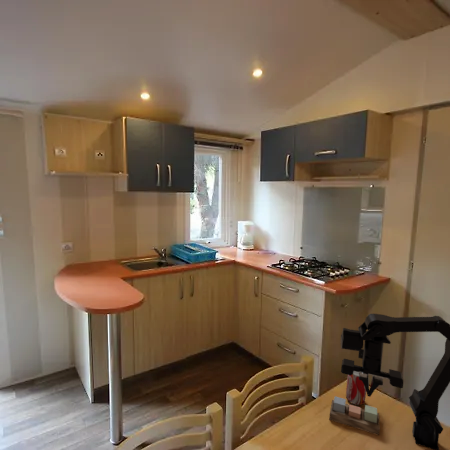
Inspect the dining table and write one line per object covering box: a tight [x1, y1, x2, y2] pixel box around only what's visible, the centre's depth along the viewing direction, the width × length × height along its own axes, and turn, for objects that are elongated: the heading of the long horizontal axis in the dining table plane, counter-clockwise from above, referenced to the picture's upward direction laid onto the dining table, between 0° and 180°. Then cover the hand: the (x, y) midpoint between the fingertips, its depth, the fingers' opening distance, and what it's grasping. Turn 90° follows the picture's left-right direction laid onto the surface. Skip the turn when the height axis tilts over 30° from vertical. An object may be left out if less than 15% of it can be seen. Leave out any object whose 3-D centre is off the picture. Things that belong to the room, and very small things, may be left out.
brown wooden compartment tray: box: [328, 399, 381, 436], centre depth 113 cm, size 16×8×2 cm, turn 66°
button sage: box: [364, 404, 378, 423], centre depth 111 cm, size 4×4×3 cm
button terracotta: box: [348, 403, 361, 419], centre depth 113 cm, size 4×4×3 cm
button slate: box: [333, 395, 347, 413], centre depth 115 cm, size 4×4×3 cm
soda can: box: [345, 371, 367, 406], centre depth 123 cm, size 7×7×12 cm
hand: (368, 395), depth 108 cm, fingers closed
